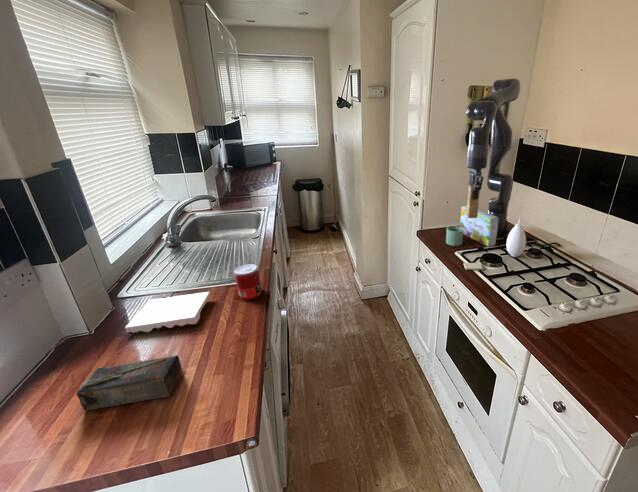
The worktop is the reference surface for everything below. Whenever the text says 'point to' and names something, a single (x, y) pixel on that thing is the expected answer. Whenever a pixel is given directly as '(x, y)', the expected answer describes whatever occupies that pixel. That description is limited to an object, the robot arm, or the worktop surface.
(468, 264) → the board
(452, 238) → the pot
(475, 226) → the snack box
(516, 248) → the white teardrop shape
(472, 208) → the peg
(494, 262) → the worktop surface
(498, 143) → the robot arm
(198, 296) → the food packaging
